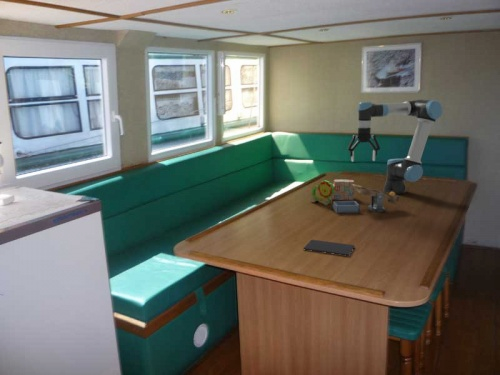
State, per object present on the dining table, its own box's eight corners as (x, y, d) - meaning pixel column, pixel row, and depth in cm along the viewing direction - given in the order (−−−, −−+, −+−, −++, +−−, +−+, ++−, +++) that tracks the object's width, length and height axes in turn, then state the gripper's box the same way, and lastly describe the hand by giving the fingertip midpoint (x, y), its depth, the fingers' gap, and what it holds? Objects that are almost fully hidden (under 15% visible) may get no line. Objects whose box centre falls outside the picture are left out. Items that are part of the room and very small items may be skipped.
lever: (386, 197, 288) (389, 190, 287) (397, 204, 271) (399, 196, 270) (350, 189, 285) (353, 182, 284) (358, 196, 268) (361, 188, 267)
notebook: (303, 251, 212) (348, 257, 203) (303, 248, 212) (349, 254, 203) (311, 242, 223) (355, 248, 214) (311, 239, 223) (355, 245, 214)
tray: (354, 207, 279) (354, 200, 278) (359, 212, 269) (359, 205, 268) (332, 208, 278) (332, 201, 277) (336, 213, 268) (337, 205, 267)
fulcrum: (379, 206, 280) (380, 189, 278) (386, 211, 270) (387, 193, 267) (367, 207, 280) (367, 189, 277) (373, 212, 269) (373, 194, 267)
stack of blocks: (320, 199, 300) (320, 181, 297) (319, 197, 306) (320, 179, 303) (353, 199, 298) (354, 181, 295) (352, 197, 304) (352, 179, 301)
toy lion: (309, 202, 294) (310, 179, 290) (314, 200, 298) (315, 177, 294) (330, 206, 283) (331, 182, 280) (335, 204, 287) (336, 181, 284)
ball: (392, 197, 275) (394, 192, 275) (394, 198, 272) (397, 193, 272) (387, 195, 275) (390, 190, 274) (389, 196, 272) (392, 191, 271)
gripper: (382, 126, 286) (380, 159, 291) (342, 127, 285) (342, 160, 289) (386, 127, 278) (384, 161, 283) (346, 128, 277) (345, 162, 282)
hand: (363, 161), depth 286 cm, fingers open, 13 cm apart
